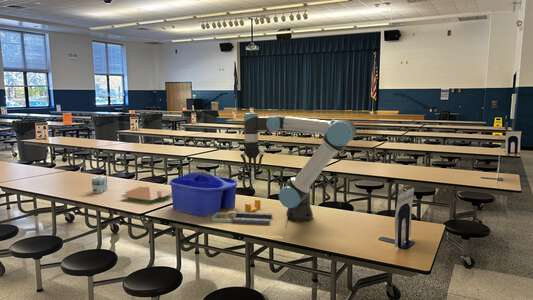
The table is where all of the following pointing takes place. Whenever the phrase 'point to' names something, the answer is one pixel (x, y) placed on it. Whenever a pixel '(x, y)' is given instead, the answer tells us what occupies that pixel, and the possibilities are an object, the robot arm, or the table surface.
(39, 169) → the table surface
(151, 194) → the house
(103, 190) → the light bulb box
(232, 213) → the chip
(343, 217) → the table surface
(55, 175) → the table surface
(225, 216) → the chip
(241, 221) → the slot rail
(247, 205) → the pipe clamp
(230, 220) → the tray
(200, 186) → the caddy
